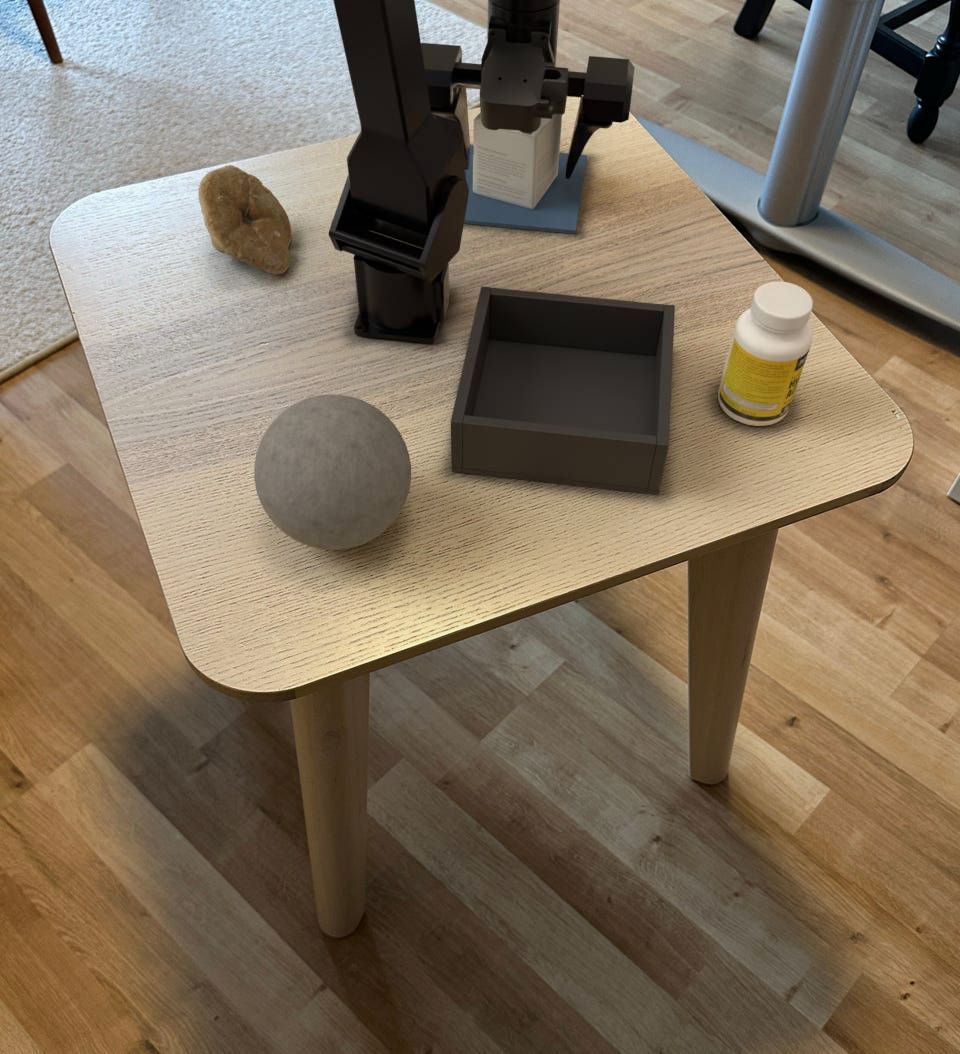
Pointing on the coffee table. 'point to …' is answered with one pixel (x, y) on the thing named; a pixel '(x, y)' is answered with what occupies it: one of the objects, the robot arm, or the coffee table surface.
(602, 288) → the coffee table surface
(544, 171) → the product carton
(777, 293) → the supplement bottle
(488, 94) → the robot arm
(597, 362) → the bin
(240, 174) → the fossil
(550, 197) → the mat
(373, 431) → the decorative ball
